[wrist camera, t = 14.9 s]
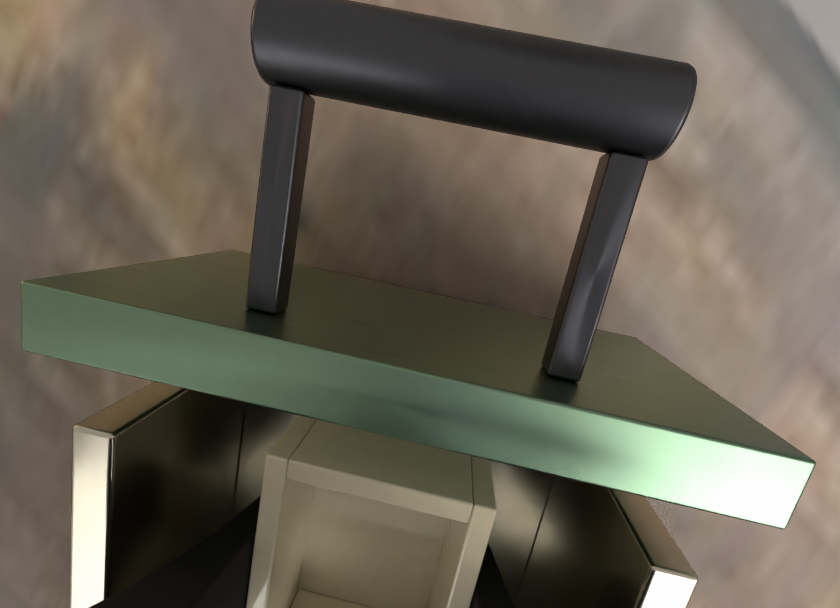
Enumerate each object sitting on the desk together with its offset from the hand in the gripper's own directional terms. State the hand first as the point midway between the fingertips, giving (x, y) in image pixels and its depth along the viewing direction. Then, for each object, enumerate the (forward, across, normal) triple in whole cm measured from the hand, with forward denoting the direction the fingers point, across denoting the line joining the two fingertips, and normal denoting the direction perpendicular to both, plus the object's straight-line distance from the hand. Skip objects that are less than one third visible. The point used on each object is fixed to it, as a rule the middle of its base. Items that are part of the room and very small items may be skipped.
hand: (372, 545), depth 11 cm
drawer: (+3, 0, -2) cm, 3 cm away
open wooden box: (+1, 0, 0) cm, 1 cm away
